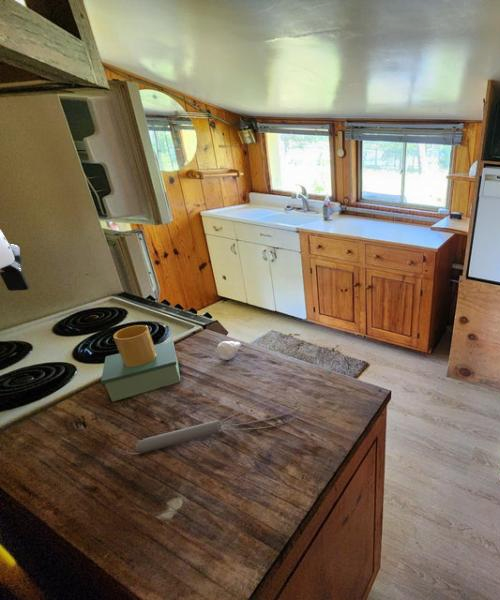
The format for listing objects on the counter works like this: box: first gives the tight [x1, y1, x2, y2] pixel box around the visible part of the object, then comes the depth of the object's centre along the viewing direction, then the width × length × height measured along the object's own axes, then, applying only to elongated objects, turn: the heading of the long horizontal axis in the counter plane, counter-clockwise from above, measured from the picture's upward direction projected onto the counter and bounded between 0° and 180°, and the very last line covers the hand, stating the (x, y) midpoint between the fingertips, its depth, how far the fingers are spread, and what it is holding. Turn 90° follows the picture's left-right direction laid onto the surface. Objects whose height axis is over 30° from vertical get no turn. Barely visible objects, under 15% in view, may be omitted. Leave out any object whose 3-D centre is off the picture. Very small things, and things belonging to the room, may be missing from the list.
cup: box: [112, 324, 157, 367], centre depth 81 cm, size 7×7×8 cm
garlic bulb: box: [216, 340, 242, 361], centre depth 96 cm, size 6×6×5 cm
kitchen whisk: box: [125, 395, 301, 455], centre depth 70 cm, size 6×34×6 cm, turn 111°
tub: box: [100, 340, 181, 402], centre depth 84 cm, size 15×12×7 cm
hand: (0, 299), depth 63 cm, fingers open, 9 cm apart
